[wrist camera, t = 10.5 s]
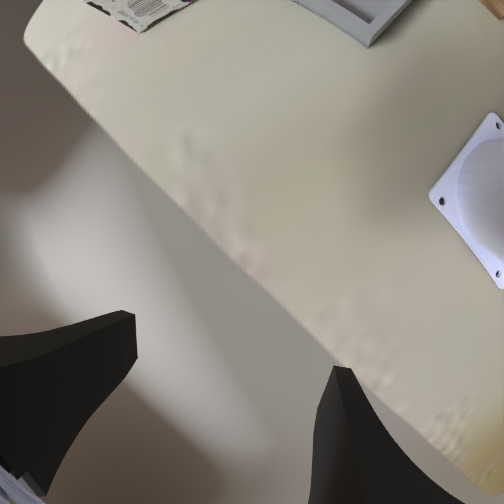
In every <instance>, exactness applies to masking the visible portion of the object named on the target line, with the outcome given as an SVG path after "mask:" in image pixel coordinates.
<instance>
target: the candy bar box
mask: <svg viewBox="0 0 504 504" xmlns="http://www.w3.org/2000/svg"><path fill="white" fill-rule="evenodd" d="M81 1H82V2H84V3H87V4H89V5H90V6H92V7H94V8H96V9H98V10H100V11H102V12H103V13H105V14H107V15H109V16H110V17H112V18H114V19H115V20H118V21H119V22H121V23H123V24H124V25H126V26H128V27H129V28H131V29H133V30H135V31H136V32H137V33H142V32H143V31H145V30H147V29H148V28H150V27H151V26H153V25H154V24H156V23H157V22H159V21H161V20H162V19H164V18H166V17H168V16H170V15H171V14H173V13H175V12H177V11H179V10H181V9H182V8H184V7H185V6H187V5H189V4H191V3H192V0H81Z"/></svg>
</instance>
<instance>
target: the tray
mask: <svg viewBox="0 0 504 504" xmlns="http://www.w3.org/2000/svg"><path fill="white" fill-rule="evenodd" d="M291 1H293V2H295V3H297V4H299V5H301V6H302V7H304V8H306V9H308V10H310V11H311V12H313V13H315V14H316V15H318V16H320V17H321V18H323V19H325V20H326V21H328V22H330V23H331V24H333V25H334V26H336V27H337V28H339V29H340V30H342V31H344V32H345V33H346V34H348V35H349V36H351V37H352V38H354V39H355V40H357V41H358V42H359V43H361V44H362V45H364V46H365V47H366V48H369V47H370V45H371V44H372V43H373V42H374V41H375V40H376V39H377V38H378V37H379V36H380V35H381V34H382V33H383V31H384V30H385V29H386V28H387V27H388V26H389V25H390V24H391V23H392V22H393V21H394V20H395V19H396V18H397V17H398V16H399V15H400V14H401V12H402V11H403V10H404V9H405V8H406V7H407V6H408V5H409V4H410V3H411V2H412V1H413V0H291Z"/></svg>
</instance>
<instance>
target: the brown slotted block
mask: <svg viewBox="0 0 504 504" xmlns="http://www.w3.org/2000/svg"><path fill="white" fill-rule="evenodd" d="M479 1H480V2H481V3H482V4H483V5H484V6H485V7H486V8H488V9H489V10H490V11H491V12H492V13H493V14H494V15H495V16H496V17H497V18H498V19H499V20H500V19H501V18H502V17H503V16H504V0H479Z"/></svg>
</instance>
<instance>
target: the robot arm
mask: <svg viewBox="0 0 504 504" xmlns="http://www.w3.org/2000/svg"><path fill="white" fill-rule="evenodd" d="M496 122H497V123H498V125H499V129H498V128H497V127H496ZM441 197H443V199H444V203H443V204H442V205H440V204H439V199H440V198H441ZM429 199H430V200H431V202H432V203H433V204H434V205H435V206H436V207H437V208H438V210H439V211H440V212H441V213H442V214H443V215H444V216H445V218H446V219H447V220H448V221H449V222H450V223H451V225H452V226H453V227H454V228H455V229H456V231H457V232H458V233H459V234H460V236H461V237H462V238H463V239H464V241H465V242H466V243H467V244H468V246H469V247H470V248H471V250H472V251H473V252H474V254H475V255H476V256H477V257H478V259H479V260H480V262H481V263H482V264H483V266H484V267H485V268H486V270H487V271H488V273H489V274H490V275H491V277H492V278H493V280H494V281H495V283H496V284H497V286H498V287H499V288H501V289H504V123H503V122H502V121H501V119H500V118H499V117H498V116H497V115H496V114H495V113H493V112H492V113H488V114H487V115H486V117H485V118H484V120H483V121H482V122H481V124H480V125H479V127H478V128H477V130H476V131H475V132H474V134H473V135H472V136H471V138H470V139H469V141H468V142H467V143H466V145H465V146H464V147H463V149H462V150H461V151H460V153H459V154H458V155H457V157H456V158H455V159H454V160H453V162H452V163H451V164H450V166H449V167H448V168H447V169H446V171H445V172H444V173H443V174H442V176H441V177H440V178H439V179H438V181H437V182H436V183H435V184H434V186H433V187H432V188H431V189H430V191H429ZM498 270H499V273H498V275H496V272H497V271H498ZM137 358H138V356H137V341H136V321H135V314H132V313H129V312H126V311H123V310H120V311H115V312H111V313H108V314H105V315H101V316H98V317H95V318H92V319H88V320H85V321H82V322H78V323H76V324H72V325H68V326H64V327H60V328H56V329H53V330H49V331H44V332H39V333H33V334H26V335H16V336H1V337H0V504H9V503H8V496H9V497H10V498H11V499H13V500H14V501H15V502H16V503H17V504H45V503H44V502H43V501H41V500H40V499H39V498H38V497H36V496H39V497H40V496H41V497H42V496H46V495H47V492H48V490H49V488H50V485H51V483H52V481H53V478H54V476H55V474H56V472H57V470H58V468H59V466H60V464H61V462H62V460H63V458H64V457H65V455H66V452H67V451H68V450H69V448H70V446H71V445H72V443H73V441H74V440H75V438H76V436H77V435H78V433H79V432H80V430H81V429H82V427H83V426H84V424H85V423H86V421H87V420H88V419H89V418H90V417H91V415H92V414H93V413H94V412H95V411H96V409H97V408H98V407H99V406H100V405H101V404H102V403H103V402H104V401H105V399H106V398H107V397H108V396H109V395H110V394H111V393H112V392H113V391H114V389H115V388H116V387H117V386H118V385H119V384H120V383H121V382H122V380H123V379H124V378H125V376H126V375H127V374H128V372H129V371H130V369H131V368H132V366H133V365H134V363H135V361H136V360H137ZM9 473H10V474H11V475H12V476H13V477H14V478H13V477H12V476H11V475H10V474H9ZM16 479H17V480H18V481H19V482H21V483H22V484H23V485H24V486H25V487H27V488H28V489H29V490H30V491H31V492H33V493H34V494H35V495H36V496H35V495H33V494H32V493H31V492H30V491H29V490H27V489H26V488H25V487H24V486H23V485H21V484H20V483H19V482H18V481H17V480H16ZM7 495H8V496H7ZM308 504H465V503H463V502H461V501H460V500H458V499H457V498H455V497H453V496H452V495H450V494H449V493H448V492H446V491H445V490H444V489H442V488H441V487H440V486H439V485H437V484H436V483H435V482H434V481H432V480H431V479H430V478H429V477H428V476H427V475H426V474H424V472H423V471H421V469H419V468H418V467H417V466H416V465H415V464H414V463H413V462H412V461H411V460H410V458H409V457H408V456H407V455H406V454H405V453H404V452H403V450H402V449H401V448H400V447H399V446H398V444H397V443H396V442H395V441H394V439H393V438H392V437H391V436H390V434H389V433H388V431H387V430H386V428H385V427H384V425H383V424H382V422H381V421H380V419H379V418H378V416H377V415H376V413H375V411H374V410H373V408H372V406H371V404H370V403H369V401H368V399H367V397H366V395H365V394H364V392H363V390H362V388H361V386H360V384H359V382H358V380H357V378H356V376H355V375H354V373H353V371H352V369H351V368H345V367H339V366H333V369H332V372H331V374H330V377H329V380H328V382H327V385H326V388H325V391H324V393H323V395H322V398H321V400H320V403H319V405H318V408H317V415H316V420H315V427H314V435H313V458H312V476H311V489H310V496H309V501H308Z"/></svg>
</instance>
